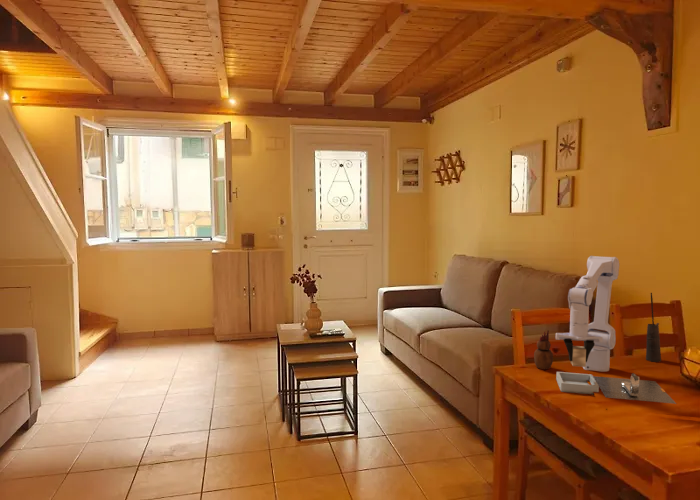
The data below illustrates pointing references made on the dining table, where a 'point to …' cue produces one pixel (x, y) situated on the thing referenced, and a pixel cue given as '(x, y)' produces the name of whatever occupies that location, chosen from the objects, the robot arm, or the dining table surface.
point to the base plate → (615, 390)
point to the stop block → (578, 356)
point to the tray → (576, 383)
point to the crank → (632, 385)
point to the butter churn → (653, 340)
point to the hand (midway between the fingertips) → (577, 360)
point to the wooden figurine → (543, 353)
